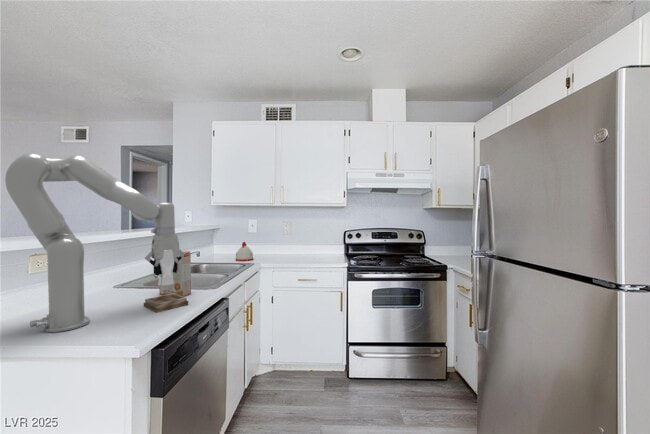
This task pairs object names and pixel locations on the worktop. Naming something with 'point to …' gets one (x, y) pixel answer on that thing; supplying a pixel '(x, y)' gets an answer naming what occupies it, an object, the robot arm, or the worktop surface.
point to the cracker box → (180, 278)
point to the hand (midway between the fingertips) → (166, 273)
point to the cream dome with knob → (244, 253)
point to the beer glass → (166, 268)
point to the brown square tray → (165, 302)
